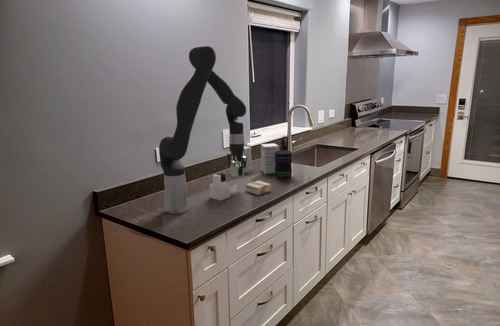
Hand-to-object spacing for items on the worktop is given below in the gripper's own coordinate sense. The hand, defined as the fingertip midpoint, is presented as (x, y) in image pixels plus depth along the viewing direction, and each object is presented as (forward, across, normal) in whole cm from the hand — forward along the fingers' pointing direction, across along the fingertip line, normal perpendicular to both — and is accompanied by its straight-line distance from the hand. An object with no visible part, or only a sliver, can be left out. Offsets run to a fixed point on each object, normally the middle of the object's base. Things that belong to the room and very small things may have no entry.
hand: (237, 174), depth 183 cm
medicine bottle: (+9, +3, -13) cm, 16 cm away
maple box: (+9, +9, +7) cm, 14 cm away
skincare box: (+8, -25, +26) cm, 37 cm away
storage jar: (+8, +1, +34) cm, 35 cm away
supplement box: (+8, -13, +37) cm, 40 cm away
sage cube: (+1, 0, 0) cm, 1 cm away
